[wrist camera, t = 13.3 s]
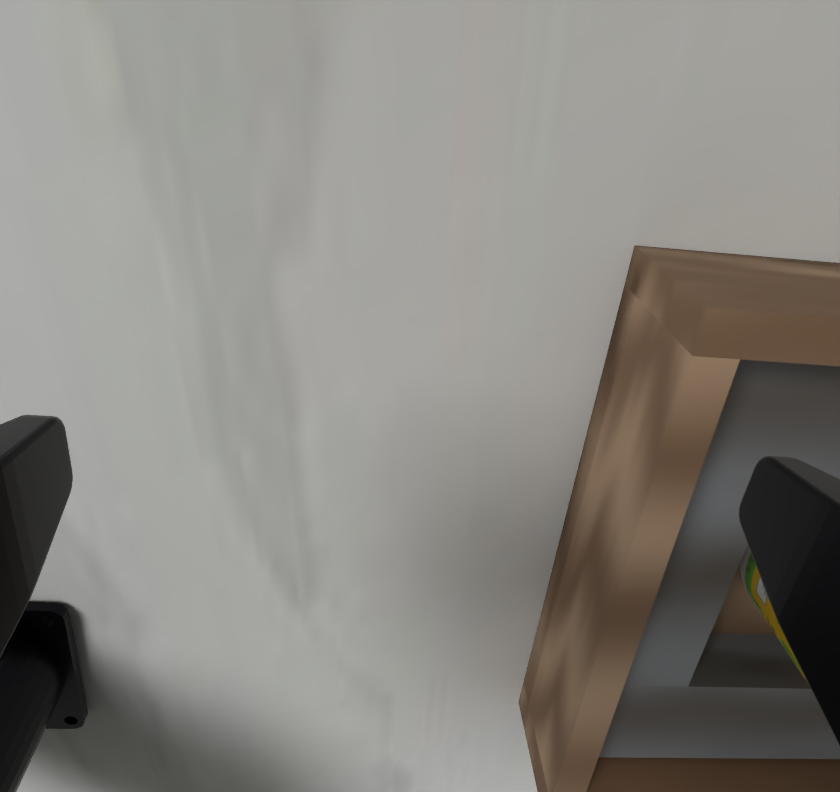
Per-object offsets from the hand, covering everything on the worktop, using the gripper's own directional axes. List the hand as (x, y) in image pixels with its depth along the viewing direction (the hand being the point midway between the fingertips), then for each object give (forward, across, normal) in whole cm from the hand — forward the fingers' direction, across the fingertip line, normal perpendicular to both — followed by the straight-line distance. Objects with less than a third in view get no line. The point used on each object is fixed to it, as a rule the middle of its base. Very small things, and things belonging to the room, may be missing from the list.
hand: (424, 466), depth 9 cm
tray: (+12, -16, +10) cm, 22 cm away
